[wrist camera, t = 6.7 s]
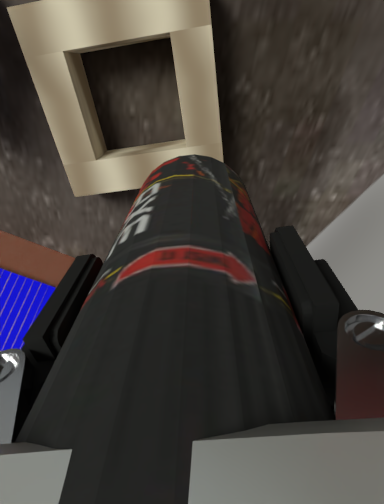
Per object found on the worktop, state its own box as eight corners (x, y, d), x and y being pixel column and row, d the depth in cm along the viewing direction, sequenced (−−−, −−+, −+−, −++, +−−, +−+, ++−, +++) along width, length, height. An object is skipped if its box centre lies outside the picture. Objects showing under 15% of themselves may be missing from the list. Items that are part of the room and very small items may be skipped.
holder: (205, -18, 24) (206, -32, 21) (222, 165, 32) (224, 177, 29) (32, 15, 26) (6, 7, 22) (87, 183, 34) (74, 196, 30)
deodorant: (210, 273, 18) (235, 767, 5) (119, 227, 17) (-149, 758, 4) (273, 193, 15) (633, 803, 3) (171, 129, 14) (-149, 818, 1)
